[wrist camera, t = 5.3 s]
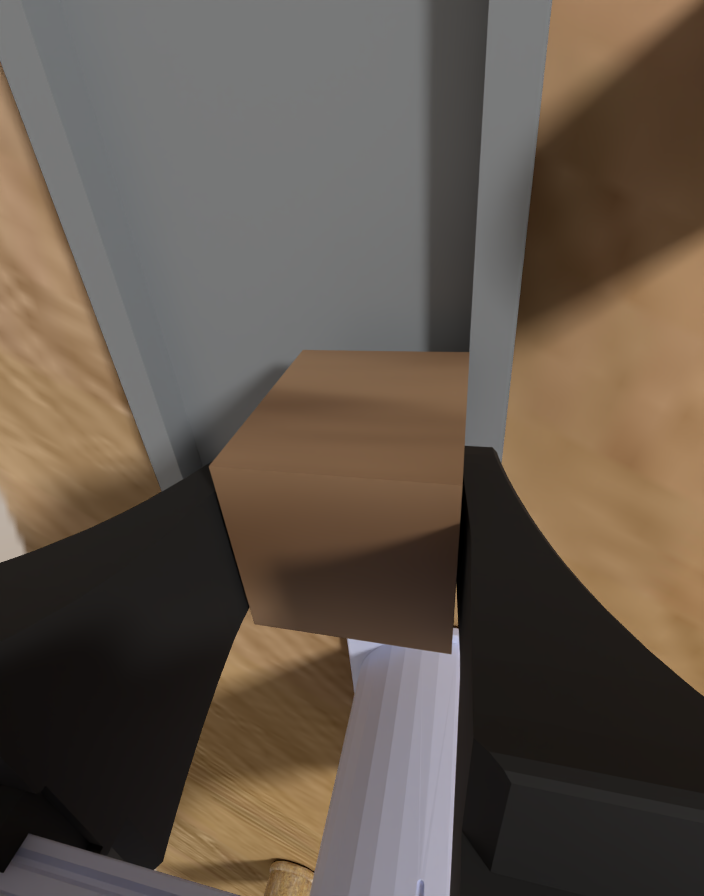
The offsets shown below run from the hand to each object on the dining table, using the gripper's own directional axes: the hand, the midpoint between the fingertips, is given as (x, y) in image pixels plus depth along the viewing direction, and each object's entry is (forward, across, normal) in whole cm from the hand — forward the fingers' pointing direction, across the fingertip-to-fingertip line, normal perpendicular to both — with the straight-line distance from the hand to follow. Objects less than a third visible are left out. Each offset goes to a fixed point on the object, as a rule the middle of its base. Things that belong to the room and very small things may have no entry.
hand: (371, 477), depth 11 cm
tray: (+4, +2, -5) cm, 7 cm away
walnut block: (+2, 0, 0) cm, 2 cm away
